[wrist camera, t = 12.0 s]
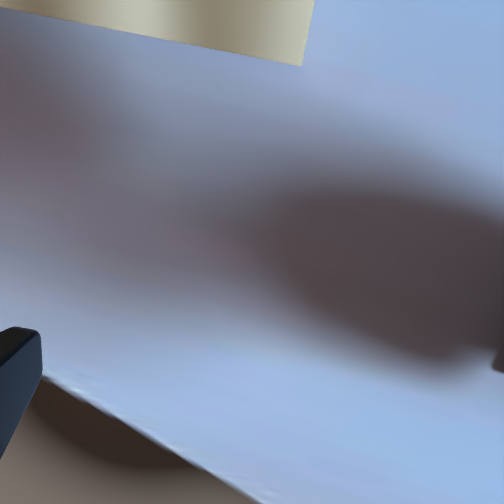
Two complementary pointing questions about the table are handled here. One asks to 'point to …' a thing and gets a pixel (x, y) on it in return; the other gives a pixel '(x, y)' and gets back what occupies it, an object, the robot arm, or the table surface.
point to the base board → (195, 22)
